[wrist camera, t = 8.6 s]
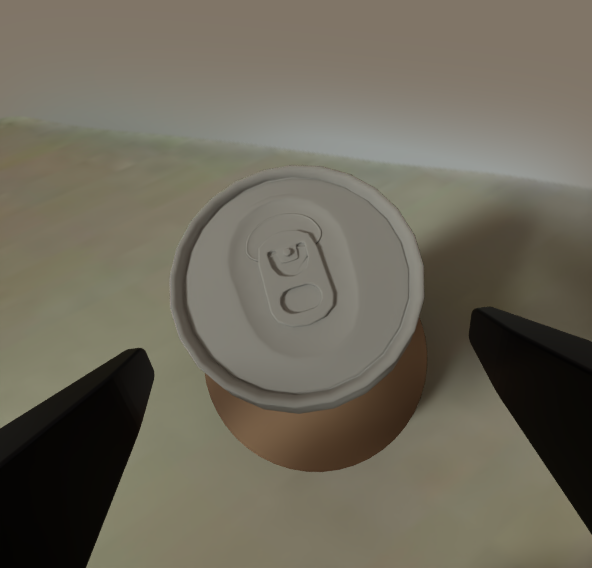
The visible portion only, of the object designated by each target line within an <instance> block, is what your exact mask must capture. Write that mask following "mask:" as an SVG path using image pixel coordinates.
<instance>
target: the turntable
mask: <svg viewBox="0 0 592 568" xmlns="http://www.w3.org/2000/svg"><path fill="white" fill-rule="evenodd" d="M426 371H427V348H426V340H425V335H424V331H423V327H422V323H421V320H420V318H419V319H418V322H417V326H416V329H415V332H414V334H413V335H412V339H411V342H410V344H409V345H408V347H407V348H406V350H405V351H404V353H403V355H402V356H401V358H400V359H399V361H398V363H397V364H396V366H395V367H394V369H393V370H392V371H391V372H390V373H389V374H388V375H387V376H386V377H384V378H383V379H382V380H381V381H380V382H379V383H378V384H376V385H375V386H374V387H373V388H372V389H371V390H370V391H368V392H367V393H366V394H364V395H362V396H360V397H357V398H355V399H353V400H351V401H349V402H347V403H345V404H343V405H340V406H338V407H336V408H334V409H328V410H321V411H314V412H308V413H301V414H296V413H288V412H280V411H273V410H265V409H262V408H260V407H257V406H255V405H253V404H251V403H248V402H246V401H244V400H242V399H239V398H237V397H235V396H233V395H231V394H230V393H229V392H228V391H227V390H225V389H224V388H222V387H221V386H220V385H219V384H218V383H217V382H215V381H214V380H213V379H212V378H211V377H209V376H208V375H207V374H206V373H205V378H206V384H207V387H208V390H209V393H210V397H211V399H212V402H213V404H214V406H215V408H216V410H217V412H218V414H219V416H220V417H221V419H222V420H223V422H224V424H225V425H226V426H227V428H228V429H229V430H230V431H231V432H232V434H233V435H234V436H235V437H236V438H237V439H238V440H239V441H240V442H241V443H242V444H244V445H245V446H246V447H247V448H248V449H250V450H251V451H253V452H254V453H256V454H257V455H258V456H260V457H262V458H264V459H266V460H268V461H270V462H272V463H274V464H277V465H280V466H283V467H286V468H289V469H294V470H300V471H306V472H325V471H333V470H339V469H343V468H346V467H350V466H353V465H356V464H358V463H360V462H362V461H365V460H367V459H369V458H371V457H372V456H374V455H375V454H377V453H378V452H380V451H381V450H383V449H384V448H385V447H386V446H387V445H389V444H390V443H391V442H392V441H393V440H394V439H395V438H396V437H397V436H398V435H399V434H400V432H401V431H402V430H403V429H404V428H405V426H406V425H407V423H408V422H409V420H410V418H411V417H412V415H413V414H414V412H415V410H416V407H417V405H418V403H419V400H420V398H421V395H422V391H423V388H424V384H425V378H426Z"/></svg>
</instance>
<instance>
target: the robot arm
mask: <svg viewBox="0 0 592 568" xmlns="http://www.w3.org/2000/svg"><path fill="white" fill-rule="evenodd" d="M469 340H470V343H471V345H472V347H473V349H474V350H475V352H476V354H477V356H478V358H479V360H480V362H481V364H482V366H483V368H484V370H485V371H486V373H487V375H488V377H489V379H490V381H491V383H492V385H493V386H494V388H495V390H496V392H497V393H498V395H499V397H500V398H501V400H502V401H503V403H504V404H505V406H506V407H507V409H508V410H509V412H510V413H511V415H512V416H513V418H514V419H515V421H516V422H517V424H518V425H519V427H520V428H521V430H522V431H523V433H524V434H525V436H526V437H527V439H528V440H529V442H530V443H531V444H532V446H533V447H534V449H535V450H536V452H537V453H538V455H539V456H540V458H541V459H542V461H543V462H544V464H545V465H546V467H547V468H548V470H549V471H550V473H551V474H552V476H553V477H554V479H555V480H556V482H557V483H558V485H559V486H560V488H561V489H562V491H563V492H564V494H565V495H566V497H567V498H568V500H569V501H570V503H571V504H572V506H573V507H574V509H575V510H576V512H577V513H578V515H579V516H580V518H581V519H582V521H583V522H584V524H585V525H586V527H587V528H588V530H589V531H590V533H591V534H592V342H591V341H589V340H586V339H583V338H580V337H577V336H574V335H571V334H568V333H566V332H563V331H560V330H557V329H554V328H551V327H548V326H545V325H542V324H540V323H537V322H534V321H531V320H528V319H525V318H522V317H519V316H516V315H514V314H511V313H508V312H505V311H502V310H499V309H496V308H493V307H482V308H475V309H474V310H473V311H472V314H471V322H470V329H469ZM153 381H154V370H153V367H152V365H151V363H150V360H149V358H148V356H147V353H146V351H145V350H144V349H142V348H135V349H128V350H125V351H124V352H122V353H121V354H119V355H117V356H116V357H114V358H113V359H111V360H109V361H108V362H106V363H105V364H103V365H101V366H100V367H98V368H97V369H95V370H93V371H92V372H90V373H88V374H87V375H85V376H84V377H82V378H80V379H79V380H77V381H76V382H74V383H72V384H71V385H69V386H68V387H66V388H64V389H63V390H61V391H60V392H58V393H56V394H55V395H53V396H52V397H50V398H48V399H47V400H45V401H44V402H42V403H40V404H39V405H37V406H36V407H34V408H32V409H31V410H29V411H28V412H26V413H24V414H23V415H21V416H20V417H18V418H16V419H15V420H13V421H12V422H10V423H8V424H7V425H5V426H4V427H2V428H0V568H86V566H87V564H88V561H89V559H90V556H91V553H92V551H93V548H94V546H95V543H96V541H97V538H98V536H99V533H100V530H101V528H102V525H103V523H104V520H105V518H106V515H107V513H108V510H109V508H110V505H111V502H112V500H113V497H114V495H115V492H116V490H117V487H118V485H119V482H120V479H121V477H122V474H123V472H124V469H125V467H126V464H127V462H128V459H129V456H130V454H131V451H132V449H133V446H134V444H135V441H136V439H137V436H138V433H139V430H140V427H141V424H142V421H143V417H144V413H145V410H146V406H147V403H148V399H149V395H150V392H151V388H152V385H153Z"/></svg>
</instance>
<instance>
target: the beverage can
mask: <svg viewBox="0 0 592 568" xmlns="http://www.w3.org/2000/svg"><path fill="white" fill-rule="evenodd" d="M423 301H424V264H423V261H422V257H421V254H420V251H419V247H418V244H417V241H416V237H415V235H414V233H413V231H412V230H411V228H410V227H409V225H408V224H407V222H406V221H405V219H404V217H403V216H402V214H401V213H400V211H399V210H398V208H397V207H396V206H394V205H393V204H392V203H391V202H390V201H389V200H388V199H387V198H386V197H385V196H384V195H383V194H381V193H380V192H379V191H378V190H377V189H376V188H374V187H373V186H371V185H369V184H367V183H365V182H363V181H362V180H360V179H358V178H356V177H354V176H352V175H350V174H348V173H344V172H340V171H337V170H333V169H329V168H326V167H322V166H303V165H289V166H283V167H278V168H272V169H266V170H262V171H259V172H257V173H254V174H252V175H250V176H247V177H245V178H243V179H240V180H238V181H235V182H234V183H232V184H231V185H230V186H228V187H227V188H225V189H224V190H222V191H221V192H220V193H218V194H217V195H215V196H214V197H213V198H211V199H210V200H209V201H208V202H207V204H206V205H205V206H204V207H203V208H202V209H201V210H200V211H199V213H198V214H197V215H196V216H195V217H194V218H193V219H192V220H191V222H190V224H189V226H188V228H187V229H186V231H185V233H184V235H183V237H182V239H181V240H180V242H179V244H178V246H177V249H176V253H175V257H174V261H173V265H172V269H171V273H170V309H171V313H172V316H173V319H174V322H175V326H176V329H177V332H178V335H179V339H180V340H181V342H182V343H183V345H184V346H185V348H186V349H187V351H188V353H189V354H190V356H191V357H192V359H193V360H194V362H195V363H196V365H197V366H198V367H199V368H200V369H201V370H202V371H203V372H205V373H206V374H207V375H208V376H209V377H211V378H212V379H213V380H214V381H215V382H217V383H218V384H219V385H220V386H221V387H222V388H224V389H225V390H227V391H228V392H229V393H230V394H231V395H233V396H235V397H237V398H239V399H242V400H244V401H246V402H248V403H251V404H253V405H255V406H257V407H260V408H262V409H265V410H273V411H280V412H288V413H296V414H301V413H308V412H314V411H321V410H328V409H334V408H336V407H338V406H340V405H343V404H345V403H347V402H349V401H351V400H353V399H355V398H357V397H360V396H362V395H364V394H366V393H367V392H368V391H370V390H371V389H372V388H373V387H374V386H375V385H376V384H378V383H379V382H380V381H381V380H382V379H383V378H384V377H386V376H387V375H388V374H389V373H390V372H391V371H392V370H393V369H394V367H395V366H396V364H397V363H398V361H399V359H400V358H401V356H402V355H403V353H404V351H405V350H406V348H407V347H408V345H409V344H410V342H411V339H412V335H413V334H414V332H415V329H416V326H417V322H418V319H419V315H420V312H421V308H422V305H423Z"/></svg>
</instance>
